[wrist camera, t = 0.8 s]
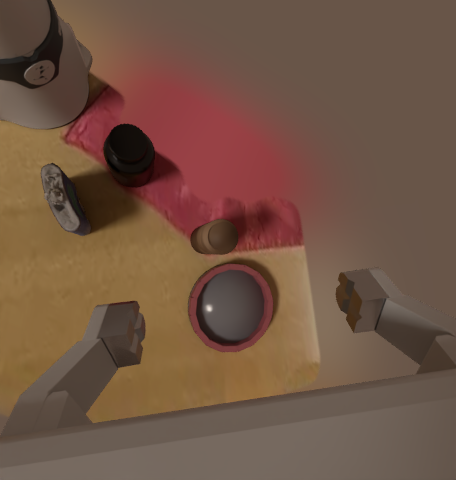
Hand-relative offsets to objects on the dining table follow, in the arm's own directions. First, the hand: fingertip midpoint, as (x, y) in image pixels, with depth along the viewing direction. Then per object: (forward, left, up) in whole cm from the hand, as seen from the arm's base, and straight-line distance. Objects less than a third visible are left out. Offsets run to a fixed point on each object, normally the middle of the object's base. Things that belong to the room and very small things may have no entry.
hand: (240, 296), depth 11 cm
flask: (-15, -5, -38) cm, 42 cm away
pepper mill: (+2, +8, -38) cm, 39 cm away
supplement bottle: (-15, +6, -38) cm, 42 cm away
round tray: (+14, +4, -38) cm, 41 cm away
